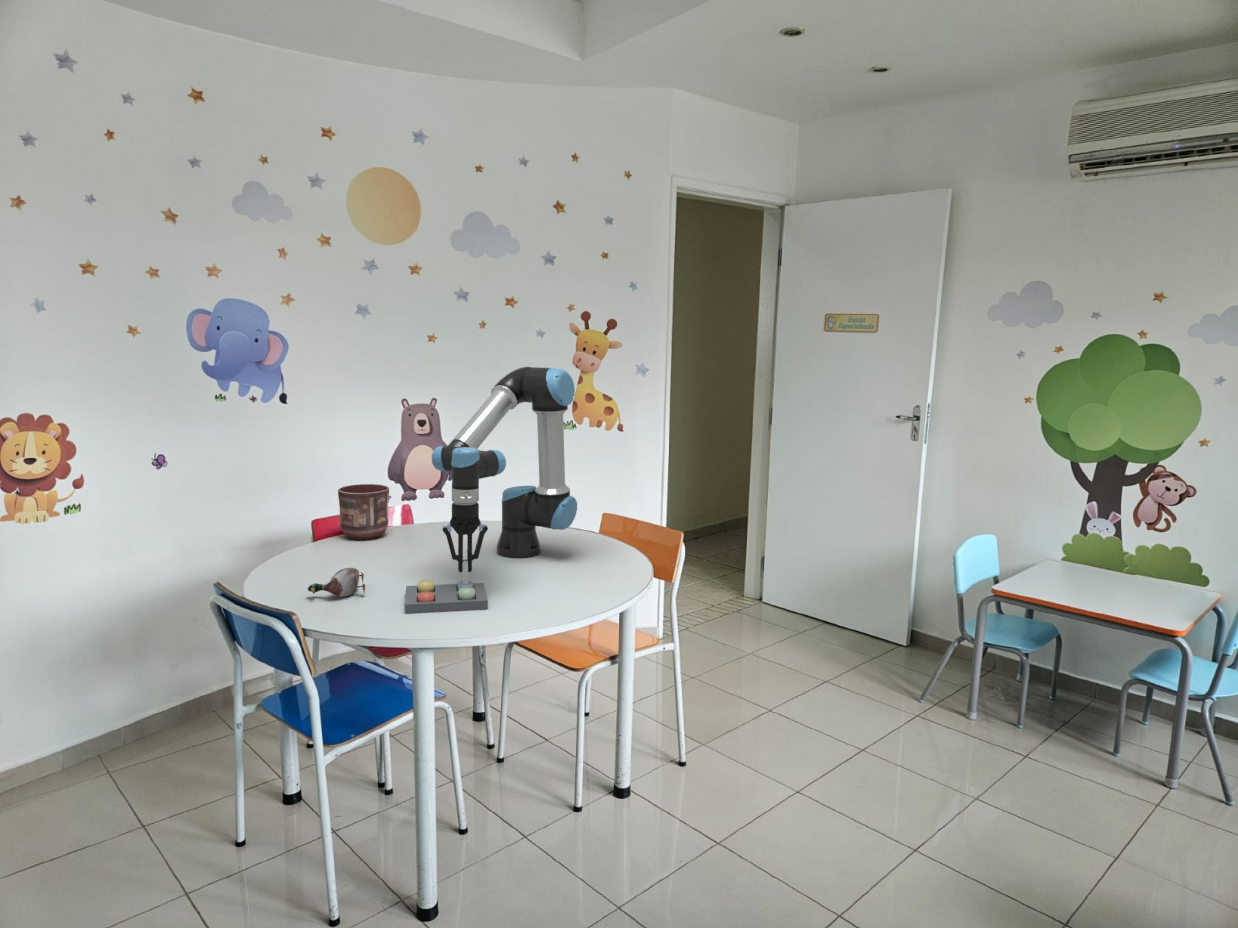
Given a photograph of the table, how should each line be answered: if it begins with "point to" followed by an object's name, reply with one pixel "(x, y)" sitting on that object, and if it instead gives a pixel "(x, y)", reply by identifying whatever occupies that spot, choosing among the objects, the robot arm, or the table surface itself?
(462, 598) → the sage button
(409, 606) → the button panel
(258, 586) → the table surface
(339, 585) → the decorative duck model
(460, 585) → the slate button
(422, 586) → the ochre button
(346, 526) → the pottery
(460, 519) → the robot arm
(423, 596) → the red button
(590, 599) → the table surface
